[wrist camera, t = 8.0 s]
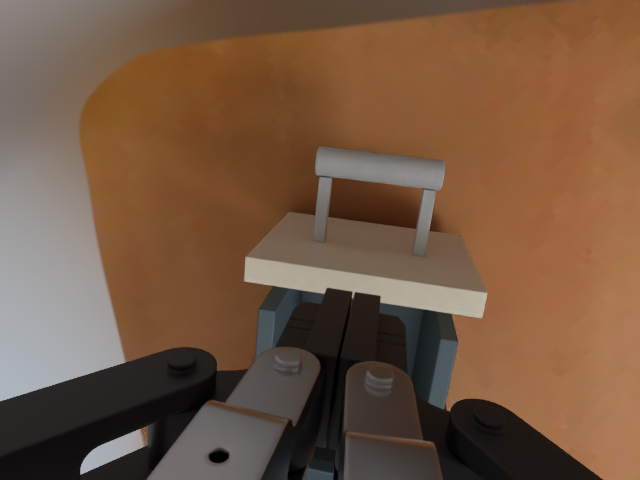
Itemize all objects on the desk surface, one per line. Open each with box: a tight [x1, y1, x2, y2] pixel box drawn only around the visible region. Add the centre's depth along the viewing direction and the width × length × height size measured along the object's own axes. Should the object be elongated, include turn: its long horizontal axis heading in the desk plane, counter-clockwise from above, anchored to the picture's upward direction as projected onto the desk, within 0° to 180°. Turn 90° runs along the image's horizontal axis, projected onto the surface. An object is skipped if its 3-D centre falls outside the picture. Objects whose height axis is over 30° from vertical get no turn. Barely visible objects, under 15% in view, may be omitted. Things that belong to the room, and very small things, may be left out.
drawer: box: [244, 146, 487, 462], centre depth 26 cm, size 18×10×9 cm, turn 175°
